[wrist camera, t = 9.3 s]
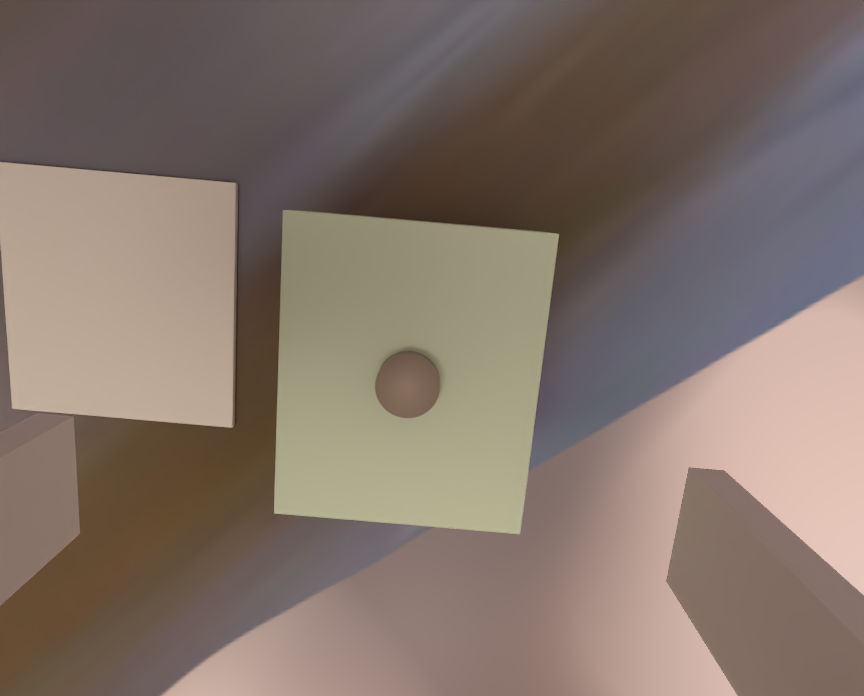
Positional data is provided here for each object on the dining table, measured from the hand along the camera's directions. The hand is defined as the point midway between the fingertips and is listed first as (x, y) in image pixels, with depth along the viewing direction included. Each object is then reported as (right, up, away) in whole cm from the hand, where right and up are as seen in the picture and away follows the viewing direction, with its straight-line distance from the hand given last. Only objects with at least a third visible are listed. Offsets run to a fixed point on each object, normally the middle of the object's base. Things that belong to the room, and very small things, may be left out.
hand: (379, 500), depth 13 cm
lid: (0, +3, +14) cm, 14 cm away
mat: (-17, +6, +21) cm, 27 cm away
